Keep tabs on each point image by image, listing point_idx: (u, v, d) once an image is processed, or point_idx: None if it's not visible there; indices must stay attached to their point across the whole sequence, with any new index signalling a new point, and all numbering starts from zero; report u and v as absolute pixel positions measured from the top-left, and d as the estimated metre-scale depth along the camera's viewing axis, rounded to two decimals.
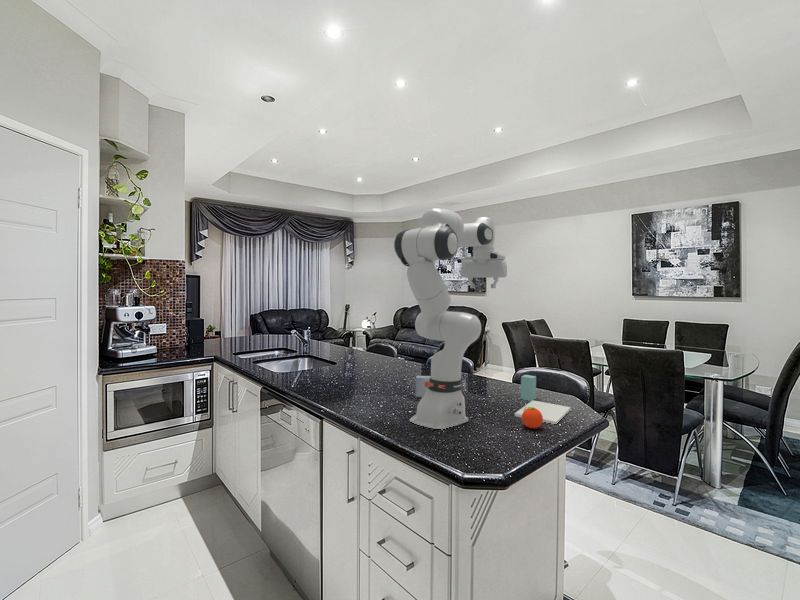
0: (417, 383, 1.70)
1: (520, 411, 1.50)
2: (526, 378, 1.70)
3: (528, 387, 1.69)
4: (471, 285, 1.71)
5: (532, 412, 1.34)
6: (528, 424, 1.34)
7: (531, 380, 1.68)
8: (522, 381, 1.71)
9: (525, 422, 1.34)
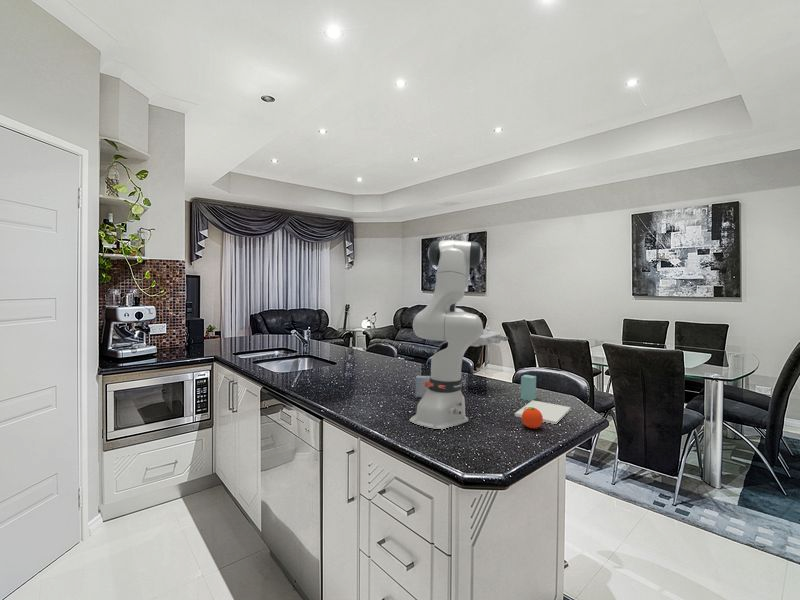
0: (417, 383, 1.70)
1: (520, 411, 1.50)
2: (526, 378, 1.70)
3: (528, 387, 1.69)
4: (497, 339, 1.75)
5: (532, 412, 1.34)
6: (528, 424, 1.34)
7: (531, 380, 1.68)
8: (522, 381, 1.71)
9: (525, 422, 1.34)
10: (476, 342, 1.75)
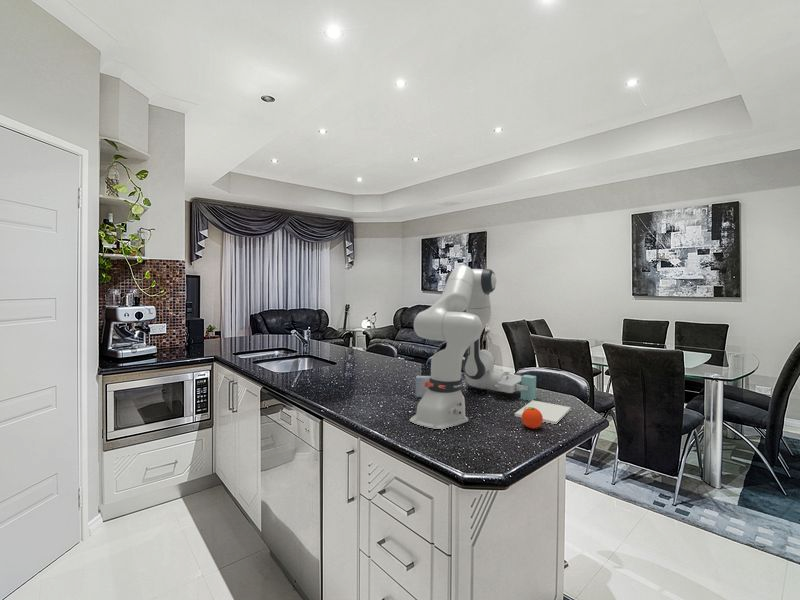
0: (417, 383, 1.70)
1: (520, 411, 1.50)
2: (526, 378, 1.70)
3: None
4: (525, 385, 1.69)
5: (532, 412, 1.34)
6: (528, 424, 1.34)
7: (531, 380, 1.68)
8: (522, 381, 1.71)
9: (525, 422, 1.34)
10: (503, 389, 1.68)
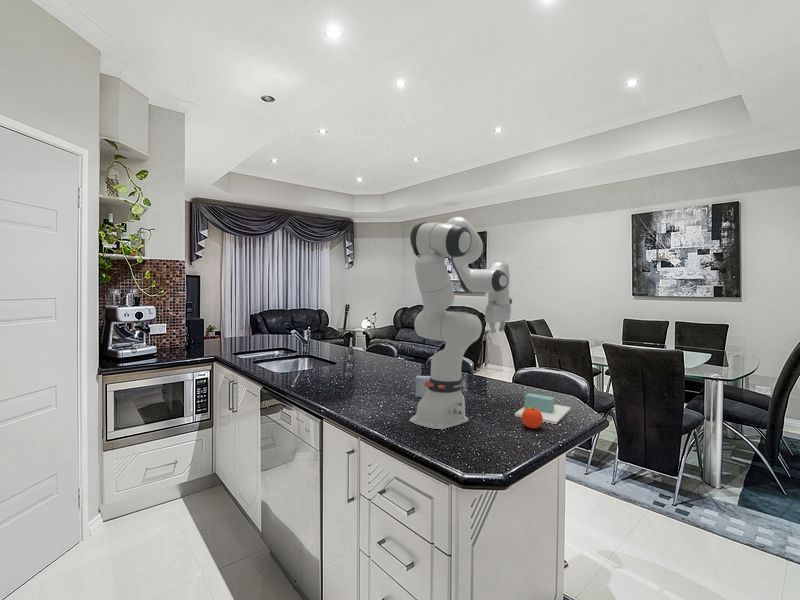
0: (417, 383, 1.70)
1: (520, 411, 1.50)
2: (549, 406, 1.49)
3: (539, 406, 1.51)
4: (495, 330, 1.65)
5: (532, 412, 1.34)
6: (528, 424, 1.34)
7: (547, 411, 1.49)
8: (545, 400, 1.50)
9: (525, 422, 1.34)
10: (487, 313, 1.61)
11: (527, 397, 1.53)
